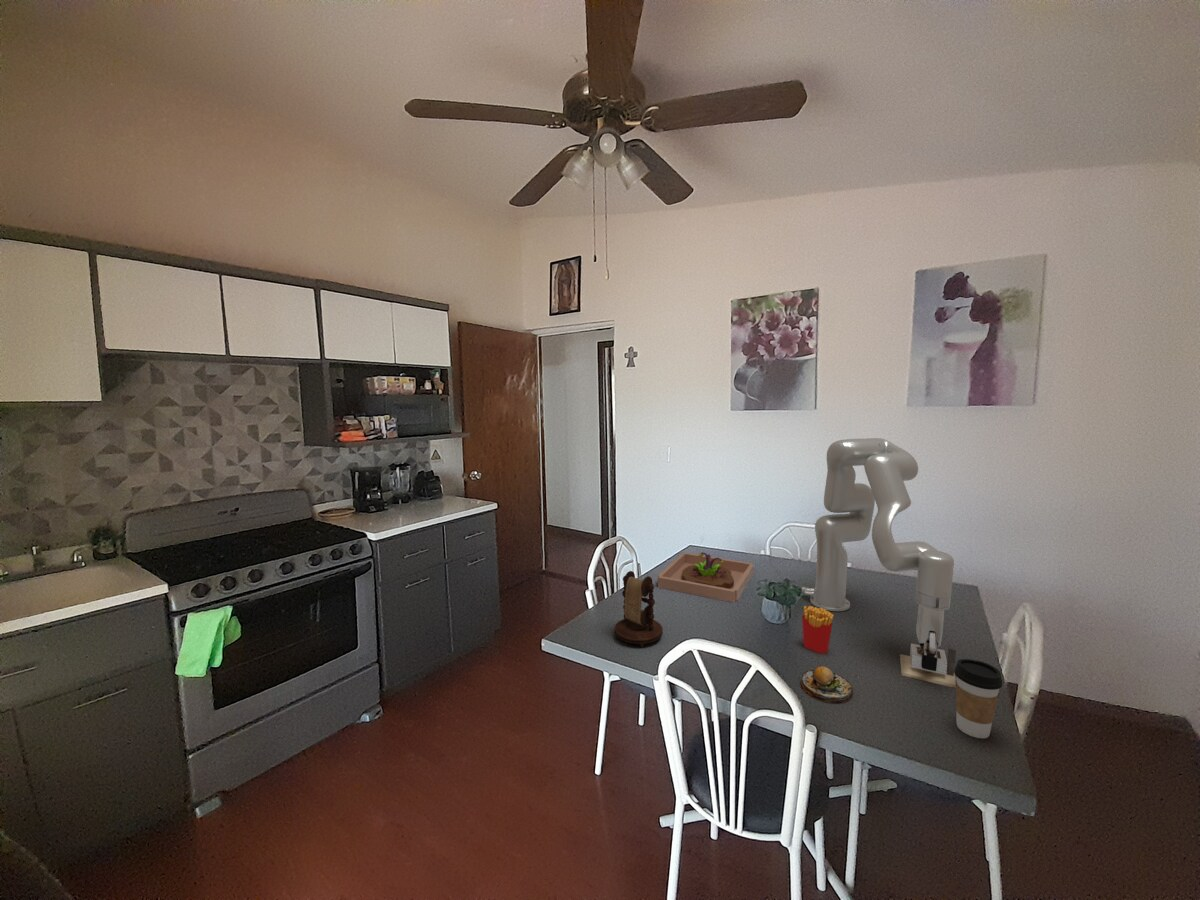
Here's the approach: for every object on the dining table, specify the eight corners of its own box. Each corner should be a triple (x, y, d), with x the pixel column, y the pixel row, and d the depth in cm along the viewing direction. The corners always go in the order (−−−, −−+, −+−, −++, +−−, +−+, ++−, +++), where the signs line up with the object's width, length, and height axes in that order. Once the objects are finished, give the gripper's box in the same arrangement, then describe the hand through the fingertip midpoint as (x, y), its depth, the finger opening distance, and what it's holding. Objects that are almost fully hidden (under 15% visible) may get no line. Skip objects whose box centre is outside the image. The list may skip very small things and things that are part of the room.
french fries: (799, 645, 146) (800, 606, 144) (805, 640, 148) (807, 602, 147) (828, 656, 139) (830, 616, 138) (834, 651, 142) (836, 612, 140)
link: (911, 667, 131) (912, 654, 130) (909, 655, 136) (910, 643, 136) (946, 675, 127) (947, 662, 126) (943, 662, 132) (944, 650, 132)
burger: (863, 700, 121) (864, 672, 120) (820, 708, 118) (821, 679, 117) (830, 672, 133) (831, 646, 131) (790, 678, 130) (792, 652, 129)
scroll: (604, 637, 152) (603, 575, 149) (633, 619, 163) (633, 561, 160) (643, 654, 142) (643, 588, 140) (671, 634, 153) (672, 572, 151)
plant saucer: (656, 588, 188) (656, 576, 188) (683, 562, 214) (683, 552, 214) (735, 604, 174) (736, 592, 173) (754, 574, 200) (754, 563, 199)
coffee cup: (940, 717, 114) (945, 657, 112) (974, 715, 115) (980, 654, 112) (970, 744, 106) (976, 679, 103) (1007, 741, 106) (1014, 676, 104)
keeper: (901, 675, 130) (903, 647, 129) (900, 656, 139) (901, 629, 138) (957, 688, 124) (959, 658, 123) (952, 667, 133) (954, 640, 132)
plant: (680, 569, 205) (681, 543, 203) (729, 570, 202) (729, 544, 201) (682, 589, 185) (682, 560, 184) (735, 591, 183) (736, 562, 181)
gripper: (913, 583, 138) (909, 643, 141) (918, 609, 123) (912, 675, 126) (946, 588, 134) (940, 650, 137) (954, 615, 119) (948, 684, 122)
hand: (927, 661), depth 131 cm, fingers closed on link, 6 cm apart
